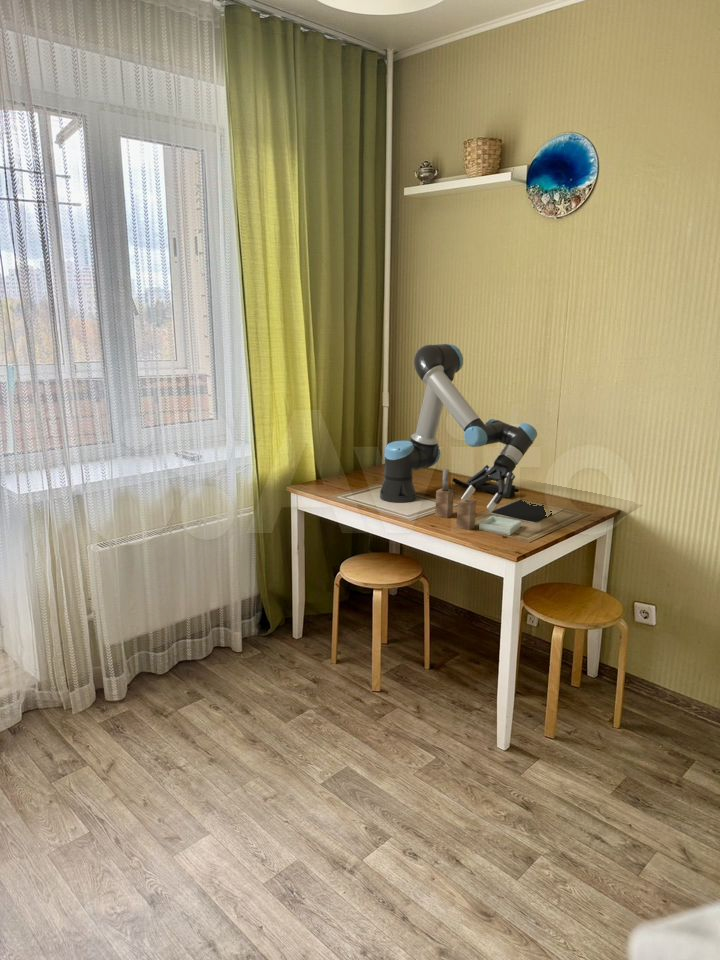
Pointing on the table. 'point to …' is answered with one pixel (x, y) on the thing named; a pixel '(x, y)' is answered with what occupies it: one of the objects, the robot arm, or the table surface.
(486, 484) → the toy
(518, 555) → the table surface
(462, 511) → the block
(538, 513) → the tablet
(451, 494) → the block
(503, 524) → the tray
